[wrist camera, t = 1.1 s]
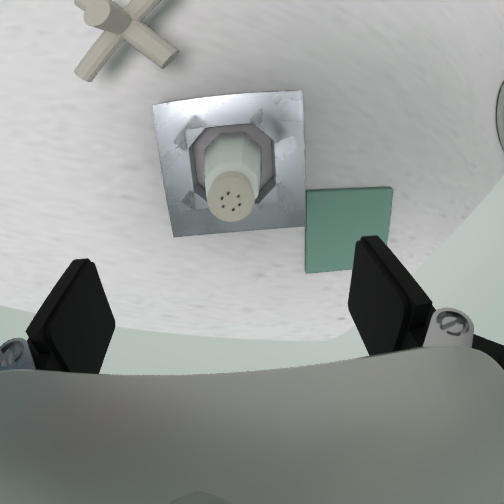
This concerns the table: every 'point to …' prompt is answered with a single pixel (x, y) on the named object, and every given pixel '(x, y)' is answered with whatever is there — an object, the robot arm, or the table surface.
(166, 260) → the table surface
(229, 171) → the pepper shaker
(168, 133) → the frame
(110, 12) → the pipe connector
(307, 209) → the mat
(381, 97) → the table surface
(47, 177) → the table surface
